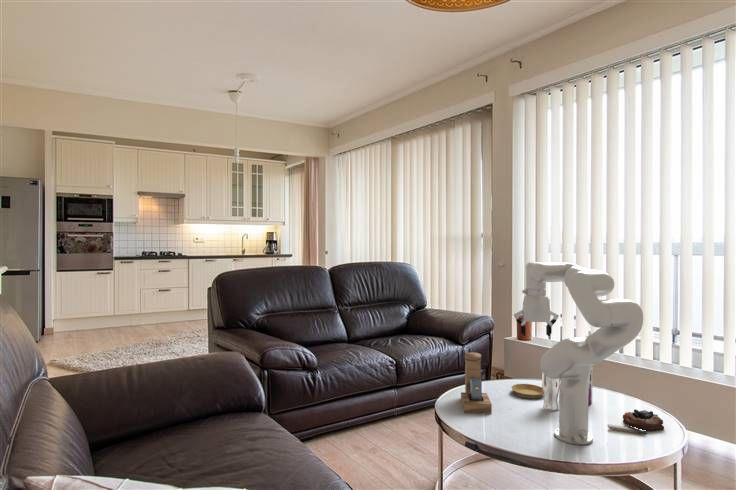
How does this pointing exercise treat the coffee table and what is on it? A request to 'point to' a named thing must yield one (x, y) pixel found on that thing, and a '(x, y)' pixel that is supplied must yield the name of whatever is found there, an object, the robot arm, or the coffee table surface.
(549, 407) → the white vase
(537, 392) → the plant saucer
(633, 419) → the pastry
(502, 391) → the coffee table surface
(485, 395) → the wooden square frame
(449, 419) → the coffee table surface
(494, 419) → the coffee table surface
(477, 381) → the grey box with cap
